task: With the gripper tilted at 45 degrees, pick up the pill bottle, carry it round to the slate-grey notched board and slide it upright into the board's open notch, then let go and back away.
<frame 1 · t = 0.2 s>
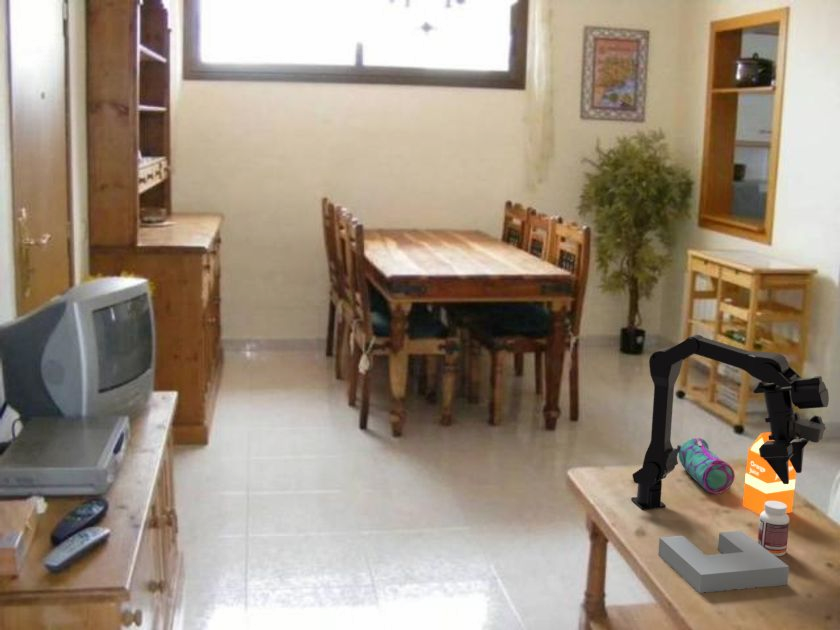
hand: (792, 478, 222), 15 cm above the table, tool tilted 15°, fingers open, 9 cm apart
pill bottle: (771, 552, 220), on the table
notched board: (720, 569, 211), on the table
pencil case: (703, 482, 262), on the table
orange juice: (766, 509, 244), on the table
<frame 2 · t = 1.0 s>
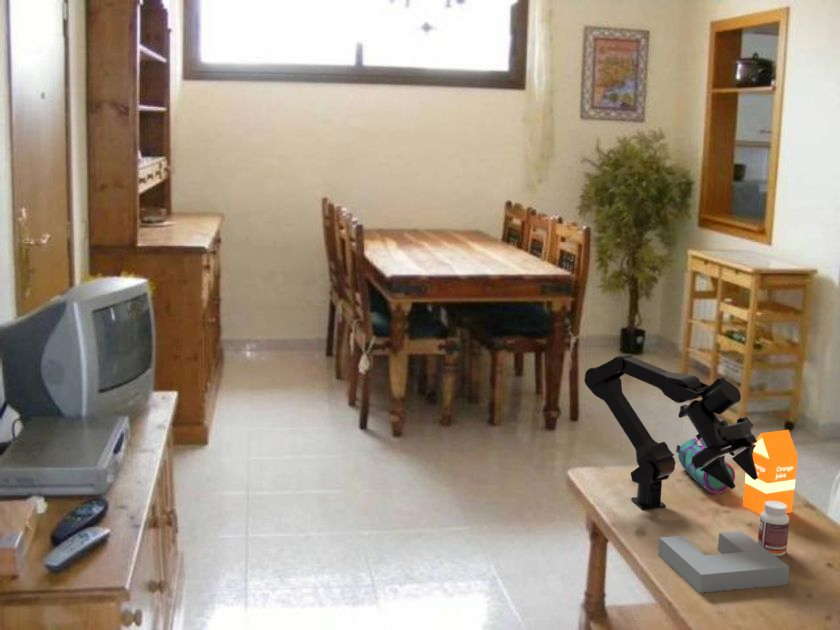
hand: (745, 483, 223), 13 cm above the table, tool tilted 45°, fingers open, 9 cm apart
nothing on the table moved.
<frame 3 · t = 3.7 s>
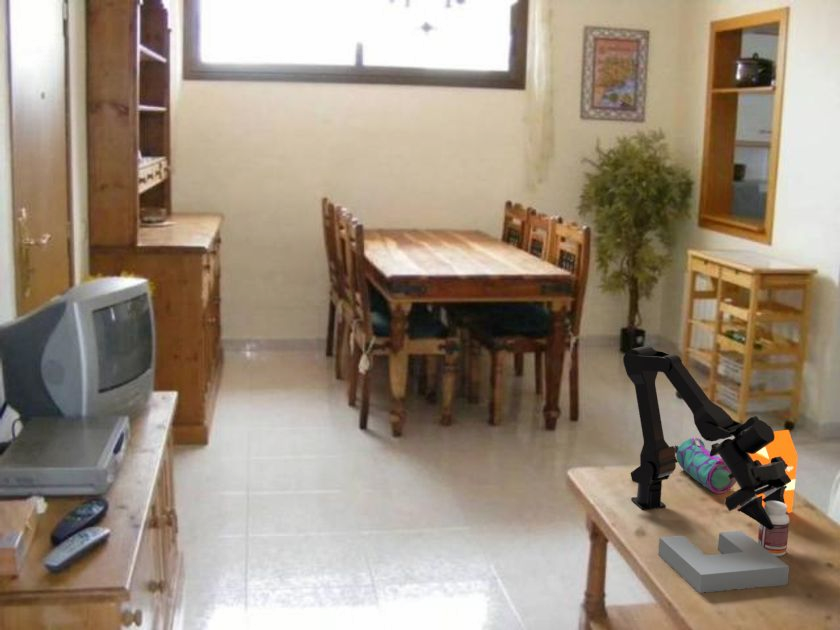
hand: (780, 525, 218), 7 cm above the table, tool tilted 45°, fingers closed on pill bottle, 6 cm apart
pill bottle: (771, 551, 220), on the table, touching gripper
everything else where it was.
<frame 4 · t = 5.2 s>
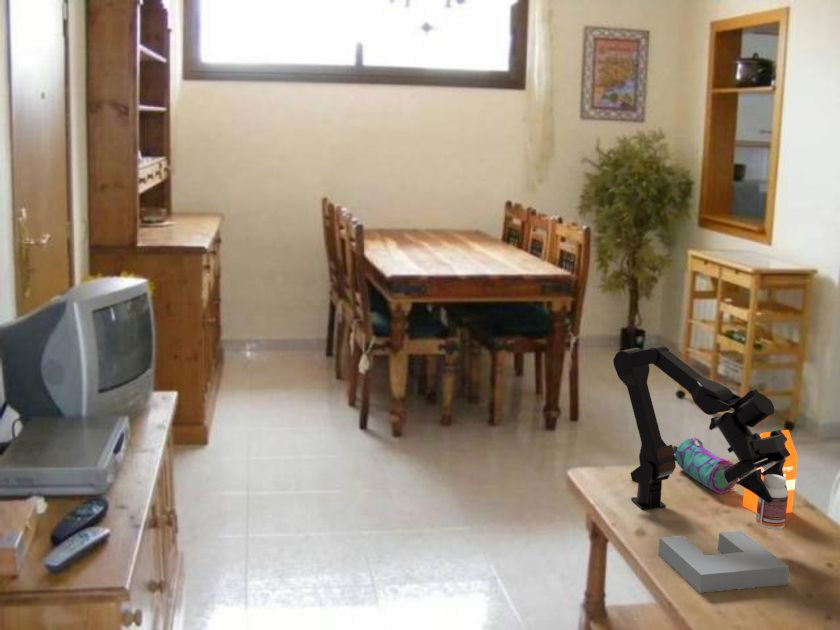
hand: (778, 498, 217), 13 cm above the table, tool tilted 45°, fingers closed on pill bottle, 6 cm apart
pill bottle: (769, 525, 219), point 6 cm above the table, touching gripper
everything else where it was.
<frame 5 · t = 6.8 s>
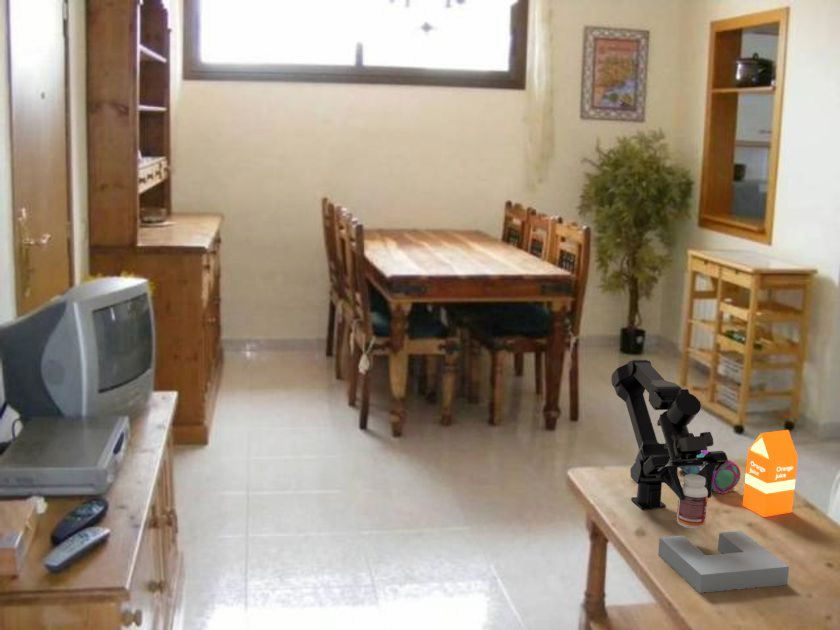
hand: (696, 498, 220), 11 cm above the table, tool tilted 45°, fingers closed on pill bottle, 6 cm apart
pill bottle: (690, 524, 223), point 4 cm above the table, touching gripper
when the fingers open (8 cm above the table, at t = 10.2 s): pill bottle drops 1 cm, on the table.
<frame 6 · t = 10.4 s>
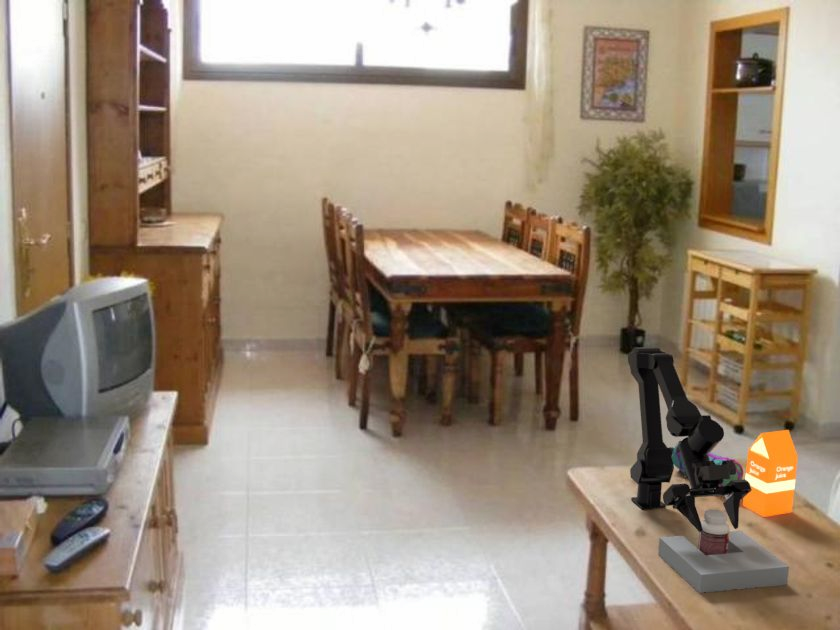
hand: (718, 529, 211), 8 cm above the table, tool tilted 45°, fingers open, 8 cm apart
pill bottle: (711, 562, 214), on the table
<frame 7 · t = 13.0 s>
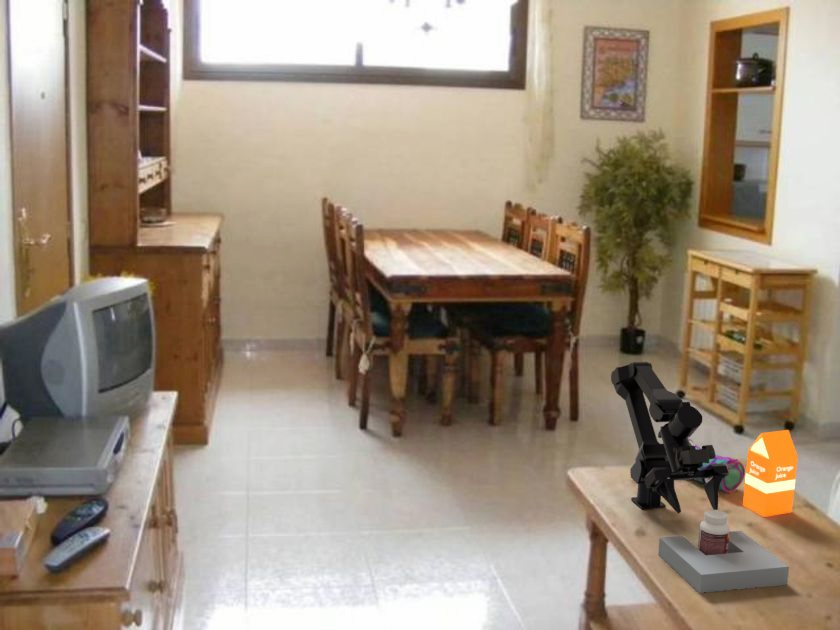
hand: (697, 511, 220), 8 cm above the table, tool tilted 45°, fingers open, 9 cm apart
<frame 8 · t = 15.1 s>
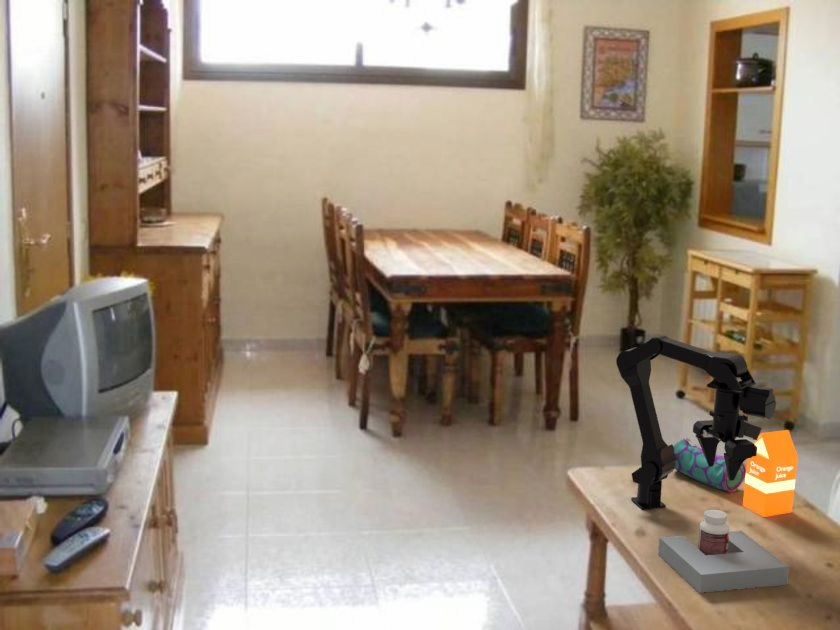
hand: (720, 473, 230), 13 cm above the table, tool pointing down, fingers open, 9 cm apart
at the end: pill bottle 0.4 cm from the target spot on the notched board, point 0.0 cm above the notched board's base; pill bottle tilted 0°; the gripper is holding nothing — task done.
